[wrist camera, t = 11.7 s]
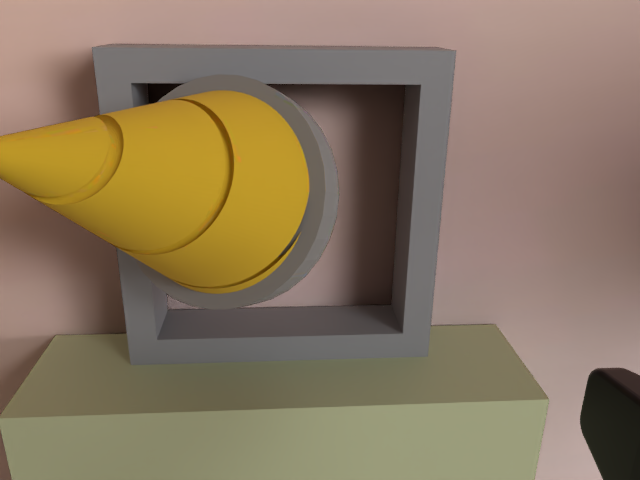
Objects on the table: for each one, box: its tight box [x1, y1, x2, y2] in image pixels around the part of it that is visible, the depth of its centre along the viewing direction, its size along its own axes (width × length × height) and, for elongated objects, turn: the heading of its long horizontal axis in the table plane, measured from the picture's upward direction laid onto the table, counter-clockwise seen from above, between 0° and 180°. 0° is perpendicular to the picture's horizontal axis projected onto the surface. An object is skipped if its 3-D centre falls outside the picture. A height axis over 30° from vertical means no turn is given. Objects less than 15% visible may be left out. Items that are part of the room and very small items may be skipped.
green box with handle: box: [0, 44, 549, 480], centre depth 17 cm, size 14×20×4 cm
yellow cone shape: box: [0, 74, 339, 310], centre depth 12 cm, size 5×5×10 cm
